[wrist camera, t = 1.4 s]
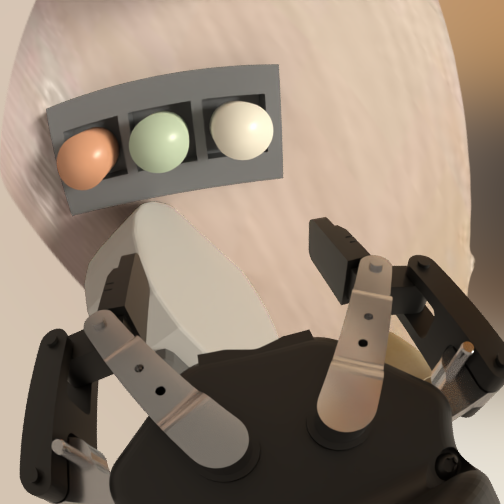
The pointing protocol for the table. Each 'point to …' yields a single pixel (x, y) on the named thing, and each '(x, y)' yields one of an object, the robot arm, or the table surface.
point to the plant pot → (406, 358)
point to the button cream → (241, 129)
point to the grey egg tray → (197, 119)
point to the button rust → (87, 158)
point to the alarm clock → (183, 288)
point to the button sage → (159, 142)
